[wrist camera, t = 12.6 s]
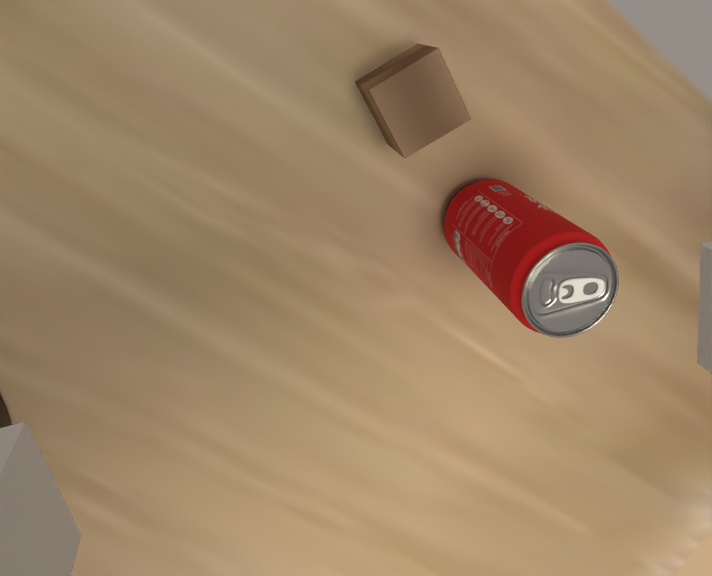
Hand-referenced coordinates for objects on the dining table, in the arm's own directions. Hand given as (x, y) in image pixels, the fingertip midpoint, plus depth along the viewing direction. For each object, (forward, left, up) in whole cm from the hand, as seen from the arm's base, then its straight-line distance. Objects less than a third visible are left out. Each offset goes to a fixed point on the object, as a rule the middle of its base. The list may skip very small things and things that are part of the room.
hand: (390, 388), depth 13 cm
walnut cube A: (+7, +1, -27) cm, 28 cm away
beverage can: (+11, -7, -27) cm, 30 cm away
